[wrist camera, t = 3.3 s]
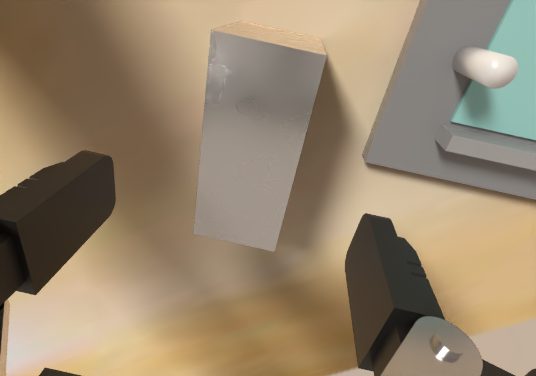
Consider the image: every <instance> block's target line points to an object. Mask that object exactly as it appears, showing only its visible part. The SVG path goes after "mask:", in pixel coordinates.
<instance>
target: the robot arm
mask: <svg viewBox="0 0 536 376" xmlns="http://www.w3.org/2000/svg"><path fill="white" fill-rule="evenodd" d="M114 205H115V182H114V168H113V161H112V158H111V157H110V156H108V155H103V154H99V153H94V152H90V151H81V152H79V153H78V154H76V155H75V156H73V157H72V158H70V159H69V160H67V161H65V162H61V163H58V164H55V165H52V166H49V167H46V168H43V169H42V170H40V171H38V172H37V173H35V174H34V175H32V176H30V178H29V179H26V180H24V181H22V182H21V183H19V184H18V186H17V187H15V186H14V187H13V188H11V189H10V190H8V191H6V192H5V193H3V194H2V195H0V376H6V359H7V343H8V327H9V311H10V305H9V301H8V298H9V297H10V296H11V295H12V294H13V293H14V292H15V291H19V292H24V293H29V294H33V295H36V294H37V293H38V292H39V291H40V290H41V289H42V288H43V287H44V286H45V285H46V284H47V283H48V281H49V280H50V279H51V278H52V277H53V276H54V275H55V274H56V273H57V272H58V271H59V270H60V269H61V268H62V266H63V265H64V264H65V263H66V262H67V261H68V260H69V259H70V258H71V257H72V256H73V255H74V254H75V253H76V252H77V250H78V249H79V248H80V247H81V246H82V245H83V244H84V243H85V242H86V241H87V240H88V239H89V238H90V237H91V235H92V234H93V233H94V232H95V231H96V230H97V229H98V228H99V227H100V226H101V225H102V224H103V223H104V222H105V220H106V219H107V218H108V217H109V216H110V215H111V213H112V211H113V209H114ZM345 273H346V281H347V288H348V296H349V303H350V310H351V318H352V325H353V333H354V340H355V348H356V355H357V362H358V368H361V369H365V370H370V371H374V376H515V375H513V374H511V373H509V372H507V371H505V370H503V369H501V368H499V367H496V366H495V365H493V364H490V363H488V362H486V361H485V360H483V359H482V358H481V355H480V352H479V351H478V349H477V347H476V345H475V344H474V343H473V341H472V340H471V339H470V338H469V337H468V336H467V335H466V334H465V333H464V332H463V331H462V330H460V329H459V328H458V327H456V326H455V325H453V324H452V323H450V322H448V321H446V320H445V318H444V316H443V314H442V311H441V309H440V307H439V304H438V302H437V300H436V297H435V295H434V293H433V290H432V288H431V286H430V283H429V281H428V279H426V274H425V272H424V269H423V267H421V262H420V260H419V258H418V255H417V253H416V251H415V250H414V249H413V248H412V246H411V245H410V244H409V243H408V242H407V241H406V240H405V239H404V238H401V237H397V234H396V231H395V229H394V226H393V223H392V221H391V219H389V218H385V217H380V216H376V215H371V214H367V213H366V214H364V215H363V216H362V218H361V220H360V223H359V225H358V227H357V230H356V232H355V234H354V237H353V239H352V242H351V244H350V246H349V249H348V251H347V255H346V260H345ZM39 376H80V375H76V374H71V373H67V372H62V371H58V370H53V369H49V368H44V370H43V371H42V372H41V374H40V375H39ZM525 376H536V369H533V370H531V371H530V372H528V373H527V374H526V375H525Z"/></svg>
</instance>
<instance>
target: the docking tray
mask: <svg viewBox="0 0 536 376" xmlns="http://www.w3.org/2000/svg"><path fill="white" fill-rule="evenodd" d="M362 155H363V158H364V161H365V162H366V163H371V164H375V165H380V166H385V167H389V168H394V169H398V170H403V171H407V172H412V173H416V174H421V175H425V176H430V177H435V178H439V179H444V180H448V181H453V182H457V183H462V184H466V185H471V186H476V187H480V188H485V189H489V190H494V191H498V192H503V193H507V194H512V195H517V196H521V197H526V198H530V199H535V200H536V0H420V3H419V6H418V8H417V11H416V14H415V16H414V19H413V22H412V24H411V27H410V30H409V32H408V35H407V38H406V40H405V43H404V46H403V48H402V51H401V53H400V56H399V59H398V61H397V64H396V67H395V69H394V72H393V75H392V77H391V80H390V83H389V85H388V88H387V91H386V93H385V96H384V98H383V101H382V104H381V106H380V109H379V112H378V114H377V117H376V120H375V122H374V125H373V128H372V130H371V133H370V136H369V138H368V141H367V143H366V146H365V149H364V151H363V154H362Z"/></svg>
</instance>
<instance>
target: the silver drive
mask: <svg viewBox="0 0 536 376" xmlns="http://www.w3.org/2000/svg"><path fill="white" fill-rule="evenodd" d="M326 57H327V54H326V51H325V49H324V46H323V43H322V40H321V38H318V37H313V36H309V35H304V34H300V33H295V32H291V31H286V30H282V29H277V28H273V27H268V26H264V25H259V24H255V23H250V22H246V21H239V22H236V23H232V24H229V25H226V26H222V27H219V28H216V29H212V30H211V36H210V48H209V59H208V71H207V82H206V94H205V105H204V117H203V128H202V140H201V151H200V163H199V174H198V186H197V197H196V209H195V220H194V232H193V234H194V235H199V236H204V237H208V238H213V239H217V240H222V241H227V242H231V243H236V244H240V245H245V246H250V247H254V248H259V249H263V250H268V251H273V252H275V249H276V245H277V241H278V237H279V234H280V230H281V226H282V222H283V219H284V215H285V211H286V207H287V204H288V200H289V196H290V192H291V189H292V185H293V181H294V177H295V174H296V170H297V166H298V162H299V159H300V155H301V151H302V147H303V144H304V140H305V136H306V132H307V129H308V125H309V121H310V117H311V114H312V110H313V106H314V102H315V99H316V95H317V91H318V87H319V84H320V80H321V76H322V72H323V69H324V65H325V61H326Z"/></svg>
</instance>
